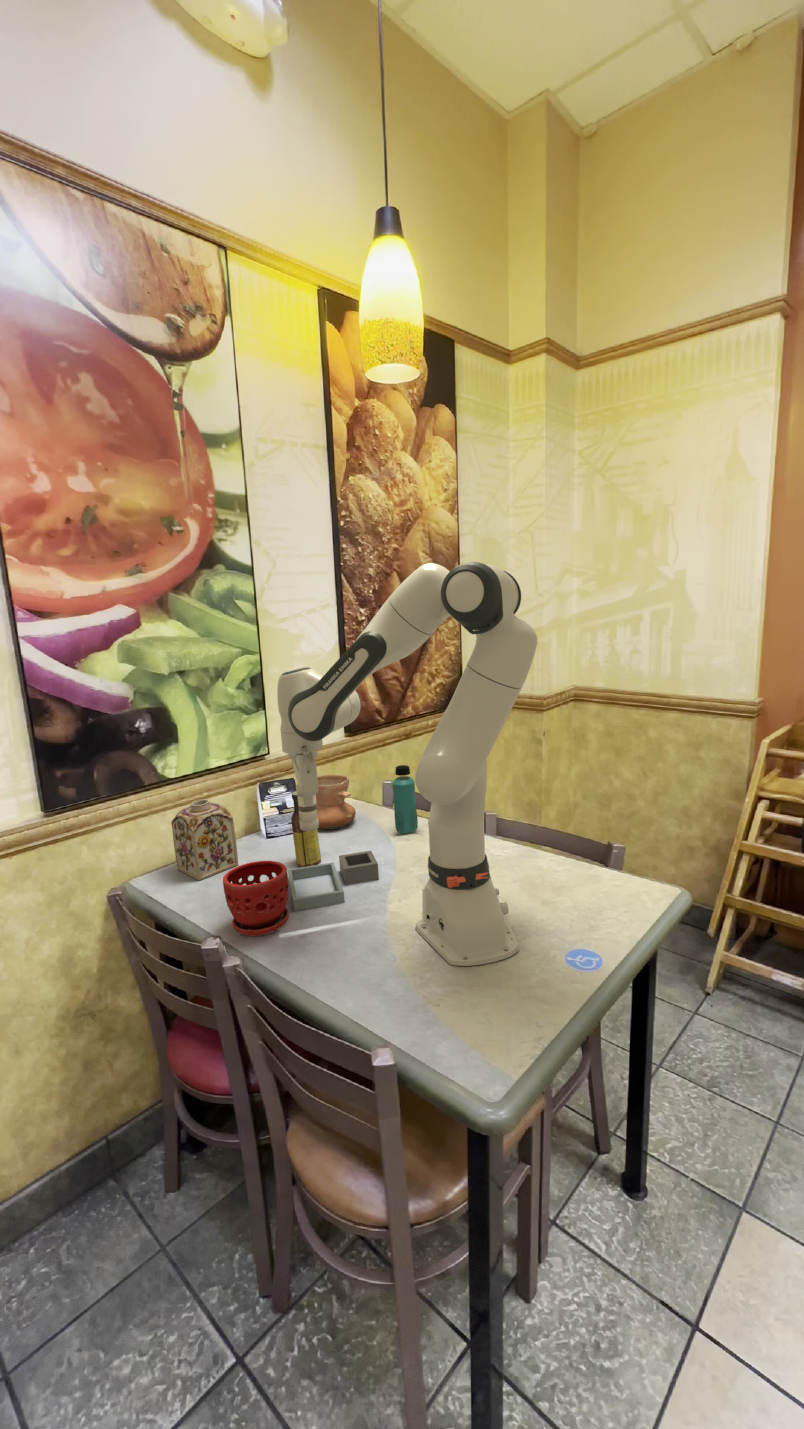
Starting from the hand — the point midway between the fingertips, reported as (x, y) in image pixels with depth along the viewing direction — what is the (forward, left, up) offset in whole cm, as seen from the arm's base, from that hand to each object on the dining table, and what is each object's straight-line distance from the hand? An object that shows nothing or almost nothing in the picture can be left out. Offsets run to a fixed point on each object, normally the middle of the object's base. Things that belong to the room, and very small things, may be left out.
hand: (307, 801), depth 136 cm
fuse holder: (+4, -11, -22) cm, 25 cm away
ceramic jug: (+44, -10, -23) cm, 50 cm away
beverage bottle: (+27, -29, -23) cm, 46 cm away
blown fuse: (0, 0, -6) cm, 6 cm away
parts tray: (0, 0, -22) cm, 22 cm away
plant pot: (-9, +13, -23) cm, 28 cm away
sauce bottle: (+16, 0, -23) cm, 28 cm away
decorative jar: (+25, +25, -23) cm, 42 cm away
